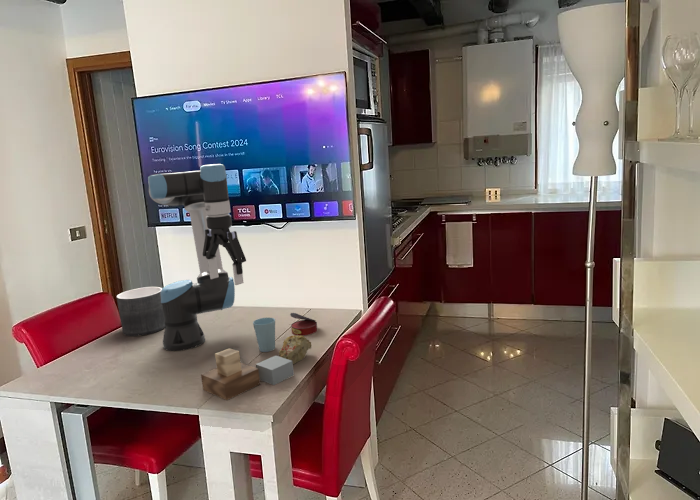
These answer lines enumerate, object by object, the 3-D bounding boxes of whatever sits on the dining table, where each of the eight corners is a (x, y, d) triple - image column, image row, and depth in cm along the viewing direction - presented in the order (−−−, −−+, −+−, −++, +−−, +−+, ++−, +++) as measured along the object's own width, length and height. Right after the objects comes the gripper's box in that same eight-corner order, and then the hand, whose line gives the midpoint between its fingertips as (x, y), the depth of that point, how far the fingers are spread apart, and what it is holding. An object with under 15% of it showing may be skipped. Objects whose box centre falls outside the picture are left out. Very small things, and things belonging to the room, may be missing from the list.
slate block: (257, 379, 164) (255, 364, 163) (277, 370, 169) (275, 355, 168) (273, 385, 158) (271, 370, 157) (294, 376, 164) (292, 360, 163)
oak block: (217, 372, 158) (214, 353, 157) (231, 366, 162) (229, 348, 160) (227, 376, 155) (224, 357, 153) (241, 370, 158) (239, 351, 157)
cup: (281, 350, 186) (277, 321, 184) (259, 355, 183) (256, 326, 181) (275, 343, 193) (271, 316, 191) (254, 348, 190) (250, 320, 188)
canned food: (293, 342, 206) (286, 317, 208) (318, 335, 208) (311, 310, 211) (295, 338, 195) (287, 312, 198) (321, 330, 198) (313, 305, 200)
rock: (295, 378, 174) (290, 358, 167) (274, 369, 177) (267, 350, 171) (314, 351, 181) (309, 332, 175) (292, 344, 185) (287, 324, 179)
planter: (114, 332, 222) (108, 295, 219) (154, 319, 235) (148, 285, 232) (136, 339, 210) (129, 301, 207) (176, 325, 223) (170, 289, 220)
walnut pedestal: (203, 390, 159) (200, 374, 158) (236, 375, 167) (234, 360, 166) (226, 400, 151) (224, 383, 150) (260, 384, 159) (258, 368, 158)
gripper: (186, 214, 170) (195, 278, 175) (231, 219, 153) (240, 290, 158) (206, 210, 176) (214, 273, 180) (252, 215, 159) (260, 283, 163)
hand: (226, 281), depth 169 cm, fingers open, 13 cm apart
